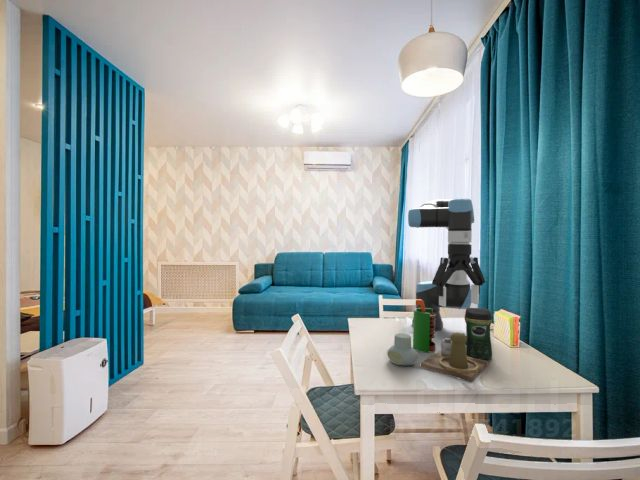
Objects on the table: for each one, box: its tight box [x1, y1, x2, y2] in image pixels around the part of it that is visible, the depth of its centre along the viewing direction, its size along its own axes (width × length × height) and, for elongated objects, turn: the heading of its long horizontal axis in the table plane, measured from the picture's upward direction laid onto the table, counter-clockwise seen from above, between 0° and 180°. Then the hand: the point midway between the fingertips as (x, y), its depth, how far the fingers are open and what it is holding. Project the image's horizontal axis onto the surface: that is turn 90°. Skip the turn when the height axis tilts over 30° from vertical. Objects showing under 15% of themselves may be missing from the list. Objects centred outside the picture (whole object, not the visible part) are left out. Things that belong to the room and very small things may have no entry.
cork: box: [449, 332, 468, 369], centre depth 111 cm, size 6×6×11 cm
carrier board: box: [420, 337, 489, 383], centre depth 113 cm, size 18×17×8 cm
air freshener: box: [386, 332, 419, 367], centre depth 116 cm, size 11×8×10 cm
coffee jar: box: [464, 307, 493, 361], centre depth 123 cm, size 10×8×19 cm
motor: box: [412, 298, 437, 353], centre depth 132 cm, size 10×9×20 cm
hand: (458, 304), depth 111 cm, fingers open, 13 cm apart
